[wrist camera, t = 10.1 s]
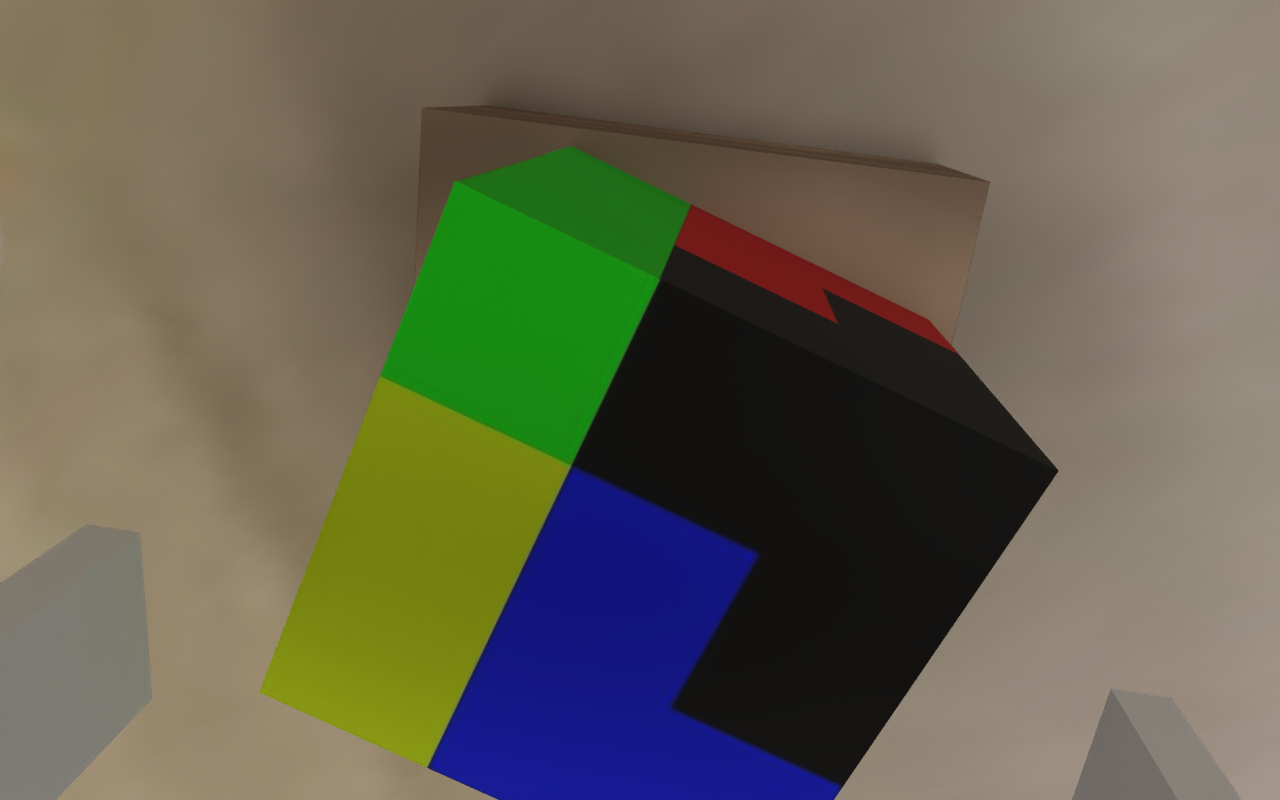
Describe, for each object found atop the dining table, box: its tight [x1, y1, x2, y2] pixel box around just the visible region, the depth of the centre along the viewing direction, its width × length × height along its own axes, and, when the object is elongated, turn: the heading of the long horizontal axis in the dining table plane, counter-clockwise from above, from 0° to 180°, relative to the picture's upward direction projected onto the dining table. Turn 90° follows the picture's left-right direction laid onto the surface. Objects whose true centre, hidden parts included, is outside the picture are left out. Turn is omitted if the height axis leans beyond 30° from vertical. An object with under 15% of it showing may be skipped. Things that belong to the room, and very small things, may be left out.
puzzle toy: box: [259, 146, 1058, 800], centre depth 20 cm, size 10×10×10 cm
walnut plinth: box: [415, 106, 990, 345], centre depth 28 cm, size 14×14×6 cm
